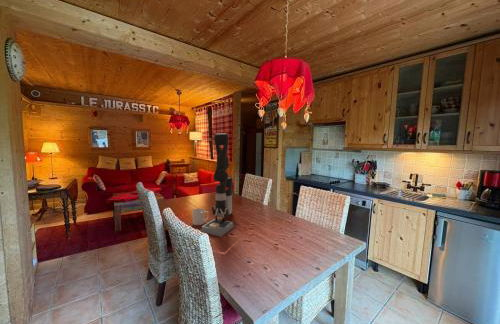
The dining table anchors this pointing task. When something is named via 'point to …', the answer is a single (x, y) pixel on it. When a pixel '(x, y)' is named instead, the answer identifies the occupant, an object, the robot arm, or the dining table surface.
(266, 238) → the dining table surface
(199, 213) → the mug
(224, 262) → the dining table surface
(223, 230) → the crate
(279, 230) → the dining table surface
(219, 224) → the lid
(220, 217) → the tin
